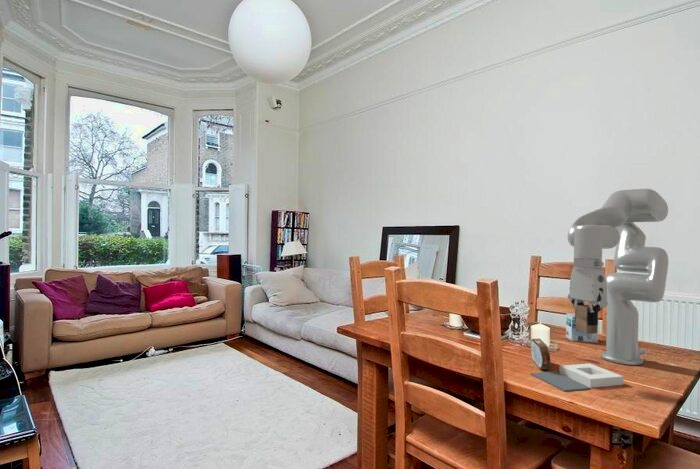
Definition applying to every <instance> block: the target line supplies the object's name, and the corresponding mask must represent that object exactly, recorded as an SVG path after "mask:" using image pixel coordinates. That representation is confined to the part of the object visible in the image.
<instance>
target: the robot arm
mask: <svg viewBox="0 0 700 469" xmlns="http://www.w3.org/2000/svg"><path fill="white" fill-rule="evenodd" d="M668 214H669V206H668V204H667V201H666V200H665V198H663V196H661V194H659V193H658V192H657V191H656V190H654V189H652V188H635V189H633V188H631V189H621V190H620V189H619V190H617V191H615V192H613V193H611V194H610V195H609V197H608V198H607V200H606V201H605V202H604V204H603V205H602V206H601V207H600V208H598V209H595V210H593V211H590V212H588V213H586V214H583V215H581V216H580V217H578V218H577V219H576V220H575V221H574V222H573V223H572V225H571V226H570V228H569V230H568V233H567V242H568V243H569V244H570V246H572V247H573V268H572V269H571V274H570V280H569V293H568V295H567V299H568V300H569V301H570V303H571V304H572V305H573V309H574V311H575V313H574V314H575V322H576V305H585V302H588V305H589V310H590V312H588V325H590V326H593V325H598V326H599V313H601V310H602V309H603V308H605V307H606V330H605V335H606V338H605V342H606V343H605V351H602V352H600V356H601V358H602V359H604V360H606V361H609V362H613V363H616V364H622V365H632V366H637V365H642V364H644V359H643V358H642V357H641V356H640V355H647V354H648V349H646V348H639V315H640V314H639V311H638V309H637V308H636V306H635V305H634V303H633V302H632V301H637V302H645V303H659V302H661V301H662V300H663V298H664V296H665V291H666V286H667V285H666V284H667V276H668V270H669V256H668V253H667V251H666V250H665V249H664V248H661V247H658V246H655V247H654V246H646V239H647V238H646V234H645V233H644V231H643V230H642V229H641V228H640V227H638V226H637V225H636V224H635V223H656V222H657V223H659V222H663V221H665V219H666V218H667V216H668ZM615 247H616V248H615ZM613 248H615V252H614V258H613V265H614V267H615V268H616V269H617V270H618V271H621V272H612V273H609V274H607V275H606V272H605V270H604V269H602V268H603V267H604V265H605V263H604V262H603V250H610V249H613Z"/></svg>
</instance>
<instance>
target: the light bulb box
mask: <svg viewBox="0 0 700 469" xmlns="http://www.w3.org/2000/svg"><path fill="white" fill-rule="evenodd" d="M565 321H566V327H565V328H566V329H565V331H566V332H565V337H566V338H567V339H569V341H571V342H583V343H594V342H595V343H596V344H597V343H598V337H599V336H598V335H599V324H598V325H597V333H592V334H585V333H582V332H579V331H576V322H575V313H570V312H569V313H566V320H565Z"/></svg>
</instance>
